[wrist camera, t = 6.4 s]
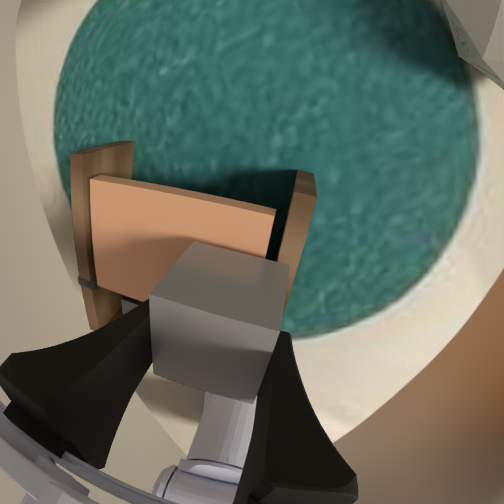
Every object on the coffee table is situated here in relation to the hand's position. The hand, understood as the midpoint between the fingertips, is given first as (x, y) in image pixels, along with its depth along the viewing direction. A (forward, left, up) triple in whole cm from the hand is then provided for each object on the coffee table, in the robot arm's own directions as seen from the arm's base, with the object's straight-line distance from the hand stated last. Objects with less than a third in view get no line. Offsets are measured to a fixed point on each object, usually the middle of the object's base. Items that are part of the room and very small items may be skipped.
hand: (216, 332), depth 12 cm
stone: (0, 0, -3) cm, 3 cm away
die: (+19, -12, -9) cm, 24 cm away
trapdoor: (-1, +4, -6) cm, 7 cm away
